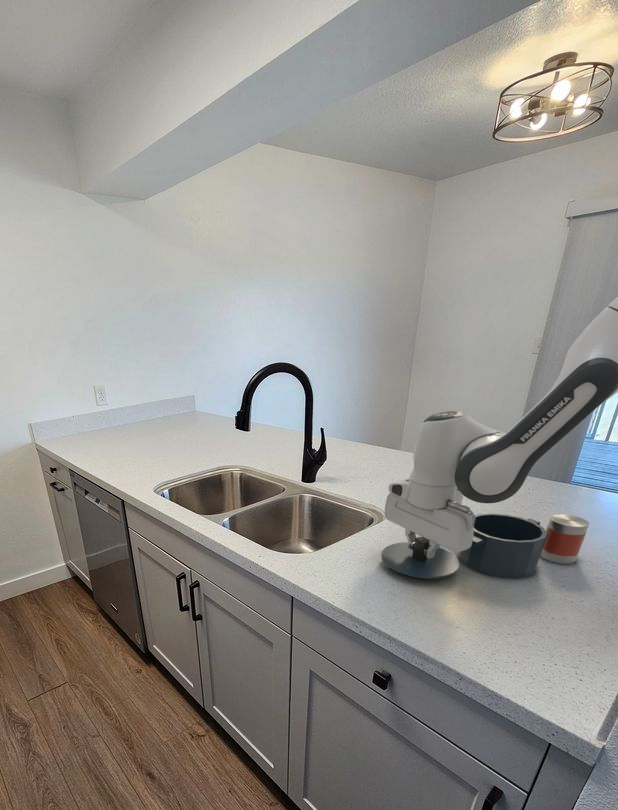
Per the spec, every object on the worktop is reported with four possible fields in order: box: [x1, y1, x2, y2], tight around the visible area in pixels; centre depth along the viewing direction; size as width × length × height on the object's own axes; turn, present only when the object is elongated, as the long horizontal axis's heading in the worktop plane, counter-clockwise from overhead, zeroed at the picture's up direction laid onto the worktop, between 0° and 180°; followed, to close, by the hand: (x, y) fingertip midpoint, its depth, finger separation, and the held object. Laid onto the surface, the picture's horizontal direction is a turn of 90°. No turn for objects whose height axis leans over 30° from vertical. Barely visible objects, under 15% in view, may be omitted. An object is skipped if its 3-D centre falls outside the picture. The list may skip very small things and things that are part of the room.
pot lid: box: [381, 536, 460, 580], centre depth 95 cm, size 16×16×6 cm
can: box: [540, 513, 590, 565], centre depth 96 cm, size 7×7×9 cm
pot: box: [458, 512, 547, 579], centre depth 96 cm, size 15×20×8 cm
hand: (420, 552), depth 95 cm, fingers closed on pot lid, 3 cm apart
